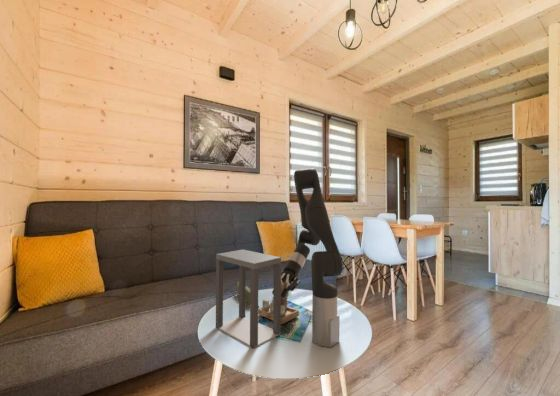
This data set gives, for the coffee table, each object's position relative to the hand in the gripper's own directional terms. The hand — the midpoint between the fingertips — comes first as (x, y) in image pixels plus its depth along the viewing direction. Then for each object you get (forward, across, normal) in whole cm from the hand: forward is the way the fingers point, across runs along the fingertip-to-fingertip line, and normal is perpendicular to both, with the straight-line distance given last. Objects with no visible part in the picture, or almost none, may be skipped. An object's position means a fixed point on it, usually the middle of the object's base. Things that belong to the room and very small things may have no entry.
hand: (277, 295), depth 123 cm
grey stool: (+19, 0, -6) cm, 20 cm away
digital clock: (-7, -16, +20) cm, 27 cm away
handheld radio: (+5, -24, +9) cm, 26 cm away
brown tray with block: (+6, 0, +6) cm, 9 cm away
